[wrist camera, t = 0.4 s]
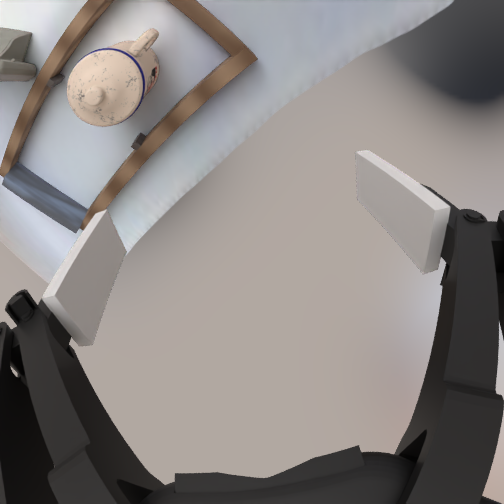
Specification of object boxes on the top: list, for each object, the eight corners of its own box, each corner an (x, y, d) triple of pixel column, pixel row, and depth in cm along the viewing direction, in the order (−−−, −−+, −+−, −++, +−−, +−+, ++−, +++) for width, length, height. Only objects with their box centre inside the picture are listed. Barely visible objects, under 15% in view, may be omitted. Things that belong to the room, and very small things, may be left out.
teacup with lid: (133, 113, 33) (105, 153, 26) (84, 80, 28) (41, 112, 20) (191, 47, 28) (177, 63, 20) (138, 9, 22) (101, 11, 15)
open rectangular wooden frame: (137, -42, 16) (126, -47, 13) (255, 55, 29) (259, 61, 26) (7, 163, 34) (-6, 179, 31) (92, 221, 47) (85, 239, 44)
